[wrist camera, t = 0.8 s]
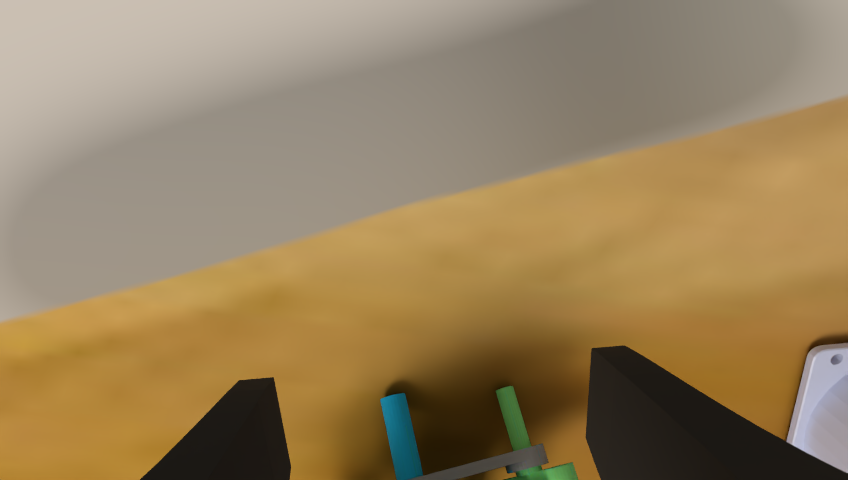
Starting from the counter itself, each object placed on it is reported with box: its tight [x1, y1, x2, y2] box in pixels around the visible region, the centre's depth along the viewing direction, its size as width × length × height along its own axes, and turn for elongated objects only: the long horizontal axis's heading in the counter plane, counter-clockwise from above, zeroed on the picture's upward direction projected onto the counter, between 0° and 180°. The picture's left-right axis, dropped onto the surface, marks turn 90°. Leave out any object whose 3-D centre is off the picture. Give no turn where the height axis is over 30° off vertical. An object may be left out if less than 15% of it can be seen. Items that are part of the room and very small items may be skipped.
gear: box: [380, 386, 578, 480], centre depth 20 cm, size 11×6×10 cm
